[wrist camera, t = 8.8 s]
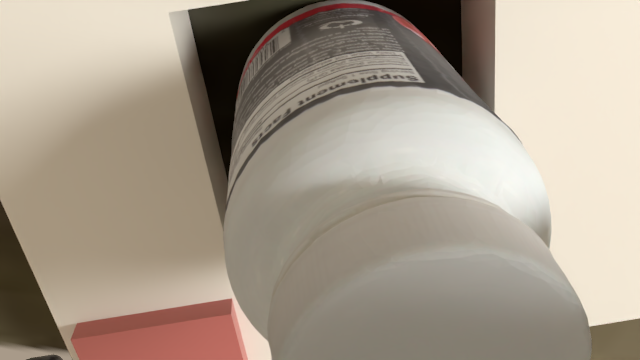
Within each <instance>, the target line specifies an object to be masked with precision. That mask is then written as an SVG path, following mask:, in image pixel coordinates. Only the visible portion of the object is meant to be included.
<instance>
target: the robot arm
mask: <svg viewBox="0 0 640 360" xmlns="http://www.w3.org/2000/svg"><path fill="white" fill-rule="evenodd" d="M27 360H63V359H62V358H61V357H60V356H58V355H48V356H42V357H35V358H30V359H27Z"/></svg>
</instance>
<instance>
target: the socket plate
mask: <svg viewBox="0 0 640 360" xmlns="http://www.w3.org/2000/svg"><path fill="white" fill-rule="evenodd" d="M240 1H246V0H0V201H1V203H2V205H3V207H4V209H5V212H6V214H7V216H8V218H9V221H10V223H11V225H12V227H13V229H14V232H15V234H16V236H17V238H18V240H19V243H20V245H21V247H22V249H23V251H24V254H25V256H26V258H27V260H28V263H29V265H30V267H31V269H32V271H33V274H34V276H35V278H36V280H37V282H38V285H39V287H40V289H41V291H42V294H43V296H44V298H45V300H46V302H47V305H48V307H49V309H50V311H51V313H52V316H53V318H54V320H55V322H56V324H57V327H58V329H59V331H60V333H61V336H62V338H63V340H64V342H65V344H66V347H67V349H68V351H69V353H70V355H71V358H72V360H272V357H271V351H270V347H269V342H268V341H267V340H266V339H265V338H264V337H263V336H262V335H261V334H260V333H259V332H258V331H257V330H256V329H255V328H254V327H253V325H252V324H251V323H250V321H249V320H248V318H247V317H246V315H245V314H244V312H243V311H242V309H241V308H240V306H239V304H238V302H237V300H236V298H235V295H234V293H233V290H232V288H231V284H230V281H229V278H228V274H227V269H226V262H225V252H224V240H223V233H224V219H225V209H226V201H227V191H228V180H227V176H226V171H225V167H224V163H223V159H222V154H221V150H220V146H219V142H218V137H217V133H216V129H215V125H214V120H213V116H212V112H211V108H210V103H209V99H208V95H207V91H206V86H205V82H204V78H203V74H202V70H201V65H200V61H199V57H198V53H197V48H196V44H195V40H194V36H193V31H192V27H191V23H190V19H189V14H188V9H194V8H201V7H207V6H214V5H220V4H227V3H233V2H240ZM461 30H462V78H463V80H464V81H465V82H466V83H467V84H468V85H469V86H470V88H471V89H472V90H473V91H474V92H475V93H476V94H477V95H478V96H479V97H480V98H481V99H482V100H483V101H484V102H485V104H486V105H487V106H488V107H489V108H490V109H491V110H492V111H493V112H494V113H495V114H496V115H497V116H498V117H499V118H500V119H501V120H502V121H503V122H504V123H505V124H506V125H507V126H509V127H510V128H511V129H512V130H513V132H514V133H515V134H516V135H517V137H518V138H519V140H520V141H521V143H522V144H523V146H524V148H525V149H526V151H527V152H528V154H529V155H530V157H531V158H532V160H533V162H534V163H535V165H536V167H537V169H538V171H539V173H540V175H541V177H542V180H543V182H544V185H545V188H546V192H547V195H548V199H549V205H550V212H551V230H552V232H551V242H550V249H549V250H550V252H551V254H552V256H553V258H554V259H555V261H556V262H557V264H558V265H559V267H560V268H561V270H562V271H563V272H564V274H565V275H566V277H567V279H568V280H569V282H570V284H571V285H572V287H573V289H574V290H575V292H576V294H577V296H578V297H579V299H580V301H581V304H582V306H583V308H584V310H585V313H586V315H587V317H588V323H589V326H595V325H601V324H607V323H613V322H619V321H625V320H632V319H638V318H640V0H461Z"/></svg>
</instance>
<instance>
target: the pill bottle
mask: <svg viewBox="0 0 640 360" xmlns="http://www.w3.org/2000/svg"><path fill="white" fill-rule="evenodd" d="M551 232H552V230H551V212H550V205H549V199H548V195H547V192H546V188H545V185H544V182H543V180H542V177H541V175H540V173H539V171H538V169H537V167H536V165H535V163H534V162H533V160H532V158H531V157H530V155H529V154H528V152H527V151H526V149H525V148H524V146H523V144H522V143H521V141H520V140H519V138H518V137H517V135H516V134H515V133H514V132H513V130H512V129H511V128H510V127H509V126H507V125H506V124H505V123H504V122H503V121H502V120H501V119H500V118H499V117H498V116H497V115H496V114H495V113H494V112H493V111H492V110H491V109H490V108H489V107H488V106H487V105H486V104H485V102H484V101H483V100H482V99H481V98H480V97H479V96H478V95H477V94H476V93H475V92H474V91H473V90H472V89H471V88H470V86H469V85H468V84H467V83H466V82H465V81H464V80H463V78H462V77H461V76H460V75H459V74H458V73H457V72H456V71H455V69H454V68H453V67H452V66H451V65H450V63H449V62H448V61H447V60H446V59H445V58H444V57H443V56H442V54H441V53H440V52H439V51H438V50H437V49H436V47H435V46H434V45H433V44H432V43H431V42H430V41H429V40H428V39H427V38H426V36H425V35H424V34H423V33H422V32H420V31H419V30H418V29H417V28H416V27H415V26H414V25H413V24H412V23H411V22H410V21H408V20H407V19H406V18H405V17H403V16H402V15H400V14H398V13H396V12H395V11H393V10H391V9H388V8H386V7H384V6H382V5H379V4H376V3H372V2H368V1H363V0H328V1H324V2H318V3H314V4H311V5H307V6H305V7H304V8H301V9H299V10H297V11H295V12H293V13H291V14H290V15H288V16H286V17H285V18H283V19H281V20H280V21H278V22H277V23H276V24H275V25H274V26H272V27H271V28H270V29H269V30H268V31H267V32H266V33H265V34H264V35H263V36H262V38H261V39H260V40H259V41H258V43H257V44H256V45H255V47H254V48H253V50H252V52H251V53H250V55H249V57H248V59H247V61H246V64H245V66H244V69H243V72H242V75H241V79H240V82H239V87H238V93H237V99H236V107H235V119H234V125H233V134H232V151H231V162H230V170H229V181H228V191H227V201H226V209H225V219H224V233H223V240H224V252H225V262H226V269H227V274H228V278H229V281H230V284H231V288H232V290H233V293H234V295H235V298H236V300H237V302H238V304H239V306H240V308H241V309H242V311H243V312H244V314H245V315H246V317H247V318H248V320H249V321H250V323H251V324H252V325H253V327H254V328H255V329H256V330H257V331H258V332H259V333H260V334H261V335H262V336H263V337H264V338H265V339H266V340H267V341H268V342H269V347H270V351H271V357H272V360H590V359H591V349H592V341H591V335H590V329H589V323H588V317H587V315H586V313H585V310H584V308H583V306H582V304H581V301H580V299H579V297H578V296H577V294H576V292H575V290H574V289H573V287H572V285H571V284H570V282H569V280H568V279H567V277H566V275H565V274H564V272H563V271H562V270H561V268H560V267H559V265H558V264H557V262H556V261H555V259H554V258H553V256H552V254H551V252H550V250H549V249H550V242H551Z"/></svg>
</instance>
